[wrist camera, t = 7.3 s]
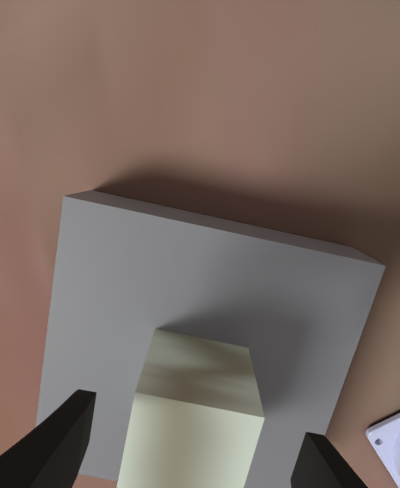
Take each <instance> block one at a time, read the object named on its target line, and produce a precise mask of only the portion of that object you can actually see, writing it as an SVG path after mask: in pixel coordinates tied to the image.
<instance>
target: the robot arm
mask: <svg viewBox="0 0 400 488" xmlns="http://www.w3.org/2000/svg"><path fill="white" fill-rule="evenodd" d="M96 394H97V392H92V391H86V390H81V389H78V390H76V391H75V392H74V393H73V394H72V395H71V396H70V397H69V398H68V399H67V400H66V401H65V402H64V403H63V404H61V405H60V406H59V407H58V408H57V409H56V410H55V411H54V412H53V413H52V414H51V415H49V416H48V417H47V418H46V419H45V420H44V421H43V422H41V423H40V424H39V425H38V426H37V427H36V428H34V429H33V430H32V431H31V432H30V433H29V434H27V435H26V436H25V437H24V438H22V439H21V440H20V441H19V442H17V443H16V444H15V445H13V446H12V447H11V448H10V449H8V450H7V451H6V452H4V453H3V454H2V455H0V488H72V486H73V484H74V482H75V479H76V477H77V475H78V472H79V469H80V467H81V464H82V461H83V459H84V456H85V453H86V450H87V447H88V445H89V441H90V434H91V427H92V421H93V414H94V408H95V401H96ZM366 436H367V438H368V439H369V441H370V442H371V444H372V446H373V447H374V449H375V450H376V452H377V454H378V455H379V457H380V458H381V460H382V462H383V463H384V465H385V466H386V468H387V469H388V471H389V473H390V474H391V476H392V477H393V479H394V481H395V482H396V484H397V485H398V487H399V488H400V413H398V414H396V415H394V416H392V417H390V418H388V419H386V420H384V421H382V422H380V423H378V424H376V425H374V426H372V427H370V428H368V429H367V431H366ZM377 439H379V440H377ZM290 481H291V488H368V487H367V486H366V485H365V484H364V483H363V481H362V480H361V479H360V478H359V477H358V475H357V474H356V473H355V472H354V471H353V469H352V468H351V467H350V466H349V465H348V463H347V462H346V461H345V460H344V459H343V457H342V456H341V455H340V454H339V452H338V451H337V450H336V449H335V448H334V446H333V445H332V444H331V443H330V442H329V441H328V439H327V438H326V437H325V436H324V435H321V434H316V433H311V432H306V433H305V436H304V439H303V442H302V445H301V448H300V452H299V455H298V458H297V461H296V464H295V467H294V470H293V473H292V476H291V479H290Z"/></svg>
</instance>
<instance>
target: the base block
mask: <svg viewBox="0 0 400 488" xmlns="http://www.w3.org/2000/svg"><path fill="white" fill-rule="evenodd" d="M385 267H386V266H385V265H383V264H382V263H380V262H378V261H376V260H374V259H373V258H371V257H369V256H367V255H366V254H364V253H362V252H360V251H358V250H357V249H355V248H353V247H351V246H346V245H341V244H337V243H332V242H328V241H323V240H318V239H314V238H309V237H305V236H300V235H295V234H291V233H286V232H282V231H277V230H272V229H268V228H263V227H259V226H254V225H249V224H245V223H240V222H236V221H231V220H227V219H222V218H217V217H213V216H208V215H204V214H199V213H194V212H190V211H185V210H181V209H176V208H171V207H167V206H162V205H158V204H153V203H148V202H144V201H139V200H135V199H130V198H125V197H121V196H116V195H112V194H107V193H102V192H98V191H93V190H90V191H85V192H80V193H76V194H71V195H66V196H63V203H62V212H61V220H60V228H59V237H58V245H57V253H56V262H55V270H54V278H53V287H52V295H51V303H50V312H49V320H48V328H47V337H46V345H45V353H44V362H43V370H42V378H41V387H40V395H39V403H38V412H37V420H36V427H37V426H38V425H39V424H40V423H41V422H43V421H44V420H45V419H46V418H47V417H48V416H49V415H51V414H52V413H53V412H54V411H55V410H56V409H57V408H58V407H59V406H60V405H61V404H63V403H64V402H65V401H66V400H67V399H68V398H69V397H70V396H71V395H72V394H73V393H74V392H75V391H76V390H78V389H81V390H86V391H92V392H97V394H96V401H95V408H94V414H93V421H92V427H91V434H90V441H89V445H88V447H87V450H86V453H85V456H84V459H83V461H82V464H81V467H80V469H79V472H78V474H82V475H87V476H92V477H97V478H103V479H108V480H113V481H118V478H119V473H120V468H121V463H122V458H123V452H124V447H125V442H126V437H127V431H128V426H129V421H130V416H131V411H132V405H133V400H134V395H135V391H136V388H137V384H138V381H139V378H140V375H141V372H142V369H143V365H144V362H145V359H146V356H147V353H148V350H149V346H150V343H151V340H152V337H153V334H154V331H155V329H159V330H164V331H169V332H174V333H179V334H183V335H188V336H193V337H198V338H203V339H208V340H213V341H218V342H223V343H228V344H233V345H238V346H243V347H248V348H249V352H250V356H251V360H252V365H253V369H254V373H255V378H256V382H257V386H258V391H259V395H260V399H261V404H262V408H263V412H264V417H265V419H264V422H263V425H262V429H261V432H260V435H259V439H258V442H257V445H256V449H255V452H254V455H253V459H252V462H251V465H250V468H249V472H248V475H247V478H246V482H245V485H244V488H291V481H290V479H291V476H292V473H293V470H294V467H295V464H296V461H297V458H298V455H299V452H300V448H301V445H302V442H303V439H304V436H305V433H306V432H311V433H316V434H321V435H324V436H325V433H326V431H327V428H328V425H329V422H330V420H331V417H332V414H333V411H334V409H335V406H336V403H337V400H338V398H339V395H340V392H341V389H342V386H343V384H344V381H345V378H346V375H347V373H348V370H349V367H350V364H351V362H352V359H353V356H354V353H355V350H356V348H357V345H358V342H359V339H360V337H361V334H362V331H363V328H364V326H365V323H366V320H367V317H368V314H369V312H370V309H371V306H372V303H373V301H374V298H375V295H376V292H377V290H378V287H379V284H380V281H381V279H382V276H383V273H384V270H385Z"/></svg>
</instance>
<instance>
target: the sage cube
mask: <svg viewBox="0 0 400 488" xmlns="http://www.w3.org/2000/svg"><path fill="white" fill-rule="evenodd" d="M264 419H265V417H264V412H263V408H262V404H261V399H260V395H259V391H258V386H257V382H256V378H255V373H254V369H253V365H252V360H251V356H250V352H249V348H248V347H243V346H238V345H233V344H228V343H223V342H218V341H213V340H208V339H203V338H198V337H193V336H188V335H183V334H179V333H174V332H169V331H164V330H159V329H155V331H154V334H153V337H152V340H151V343H150V346H149V350H148V353H147V356H146V359H145V362H144V365H143V369H142V372H141V375H140V378H139V381H138V384H137V388H136V391H135V395H134V400H133V405H132V411H131V416H130V421H129V426H128V431H127V437H126V442H125V447H124V452H123V458H122V463H121V468H120V473H119V478H118V484H117V488H244V485H245V482H246V478H247V475H248V472H249V468H250V465H251V462H252V459H253V455H254V452H255V449H256V445H257V442H258V439H259V435H260V432H261V429H262V425H263V422H264Z"/></svg>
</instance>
